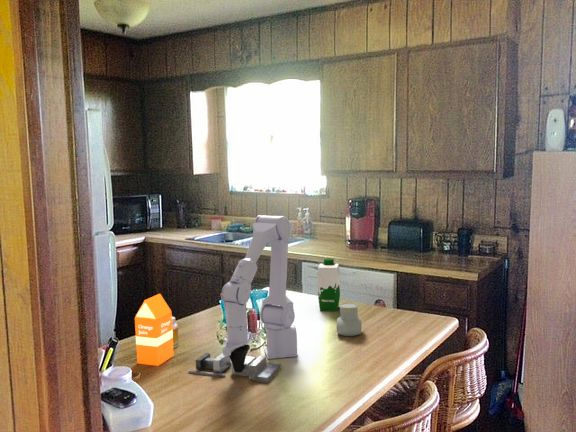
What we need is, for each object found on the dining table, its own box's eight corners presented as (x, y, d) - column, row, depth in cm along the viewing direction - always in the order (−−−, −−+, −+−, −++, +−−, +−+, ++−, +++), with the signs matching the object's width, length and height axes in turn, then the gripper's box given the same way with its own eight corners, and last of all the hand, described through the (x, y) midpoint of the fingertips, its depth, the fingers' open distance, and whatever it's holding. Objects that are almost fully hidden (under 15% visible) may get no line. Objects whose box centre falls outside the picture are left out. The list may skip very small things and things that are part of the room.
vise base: (280, 369, 157) (280, 356, 156) (267, 382, 147) (267, 368, 147) (205, 360, 165) (204, 347, 165) (188, 372, 156) (187, 359, 156)
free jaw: (230, 365, 161) (230, 352, 160) (219, 374, 154) (219, 360, 154) (206, 362, 163) (206, 349, 163) (195, 371, 157) (194, 357, 156)
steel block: (256, 368, 158) (255, 356, 158) (247, 376, 153) (247, 364, 152) (240, 366, 160) (240, 355, 159) (231, 374, 154) (231, 362, 154)
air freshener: (338, 328, 192) (337, 301, 191) (361, 329, 191) (361, 301, 190) (336, 338, 182) (335, 310, 181) (361, 339, 180) (360, 310, 179)
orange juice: (136, 363, 165) (133, 299, 163) (153, 353, 173) (150, 292, 171) (158, 366, 162) (155, 301, 160) (174, 355, 170) (171, 294, 168)
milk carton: (340, 305, 222) (340, 258, 219) (339, 312, 213) (338, 262, 211) (319, 305, 223) (318, 258, 221) (317, 311, 214) (316, 262, 212)
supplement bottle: (180, 343, 182) (178, 315, 181) (177, 348, 176) (175, 320, 175) (164, 343, 182) (162, 315, 181) (160, 349, 176) (159, 320, 175)
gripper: (235, 316, 159) (236, 360, 160) (211, 331, 145) (214, 379, 147) (257, 318, 156) (258, 363, 158) (235, 333, 143) (237, 382, 144)
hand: (238, 371), depth 152 cm, fingers closed
